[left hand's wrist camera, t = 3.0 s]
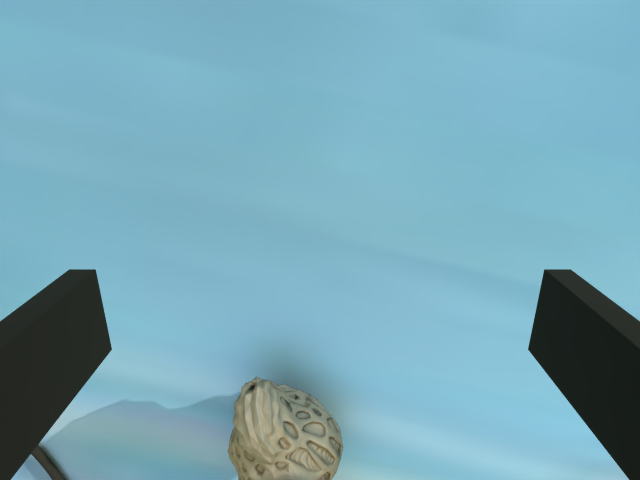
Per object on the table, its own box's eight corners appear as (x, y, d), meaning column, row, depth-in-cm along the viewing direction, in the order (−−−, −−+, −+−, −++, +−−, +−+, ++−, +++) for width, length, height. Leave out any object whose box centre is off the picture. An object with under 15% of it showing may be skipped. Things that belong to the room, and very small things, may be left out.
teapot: (214, 348, 46) (168, 466, 32) (318, 327, 45) (318, 439, 31) (267, 489, 53) (249, 636, 39) (358, 473, 52) (372, 618, 38)
